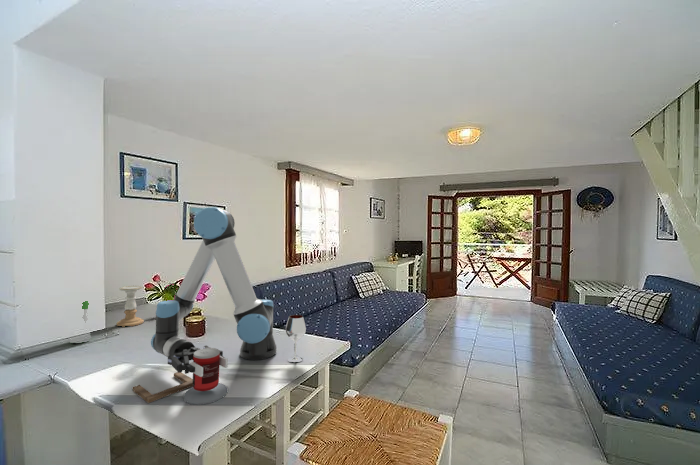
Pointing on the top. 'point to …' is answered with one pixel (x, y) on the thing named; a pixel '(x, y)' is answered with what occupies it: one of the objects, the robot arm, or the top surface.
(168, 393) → the walnut cradle
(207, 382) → the canned food
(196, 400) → the slate mat
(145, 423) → the top surface
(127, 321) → the candle holder
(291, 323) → the wineglass
